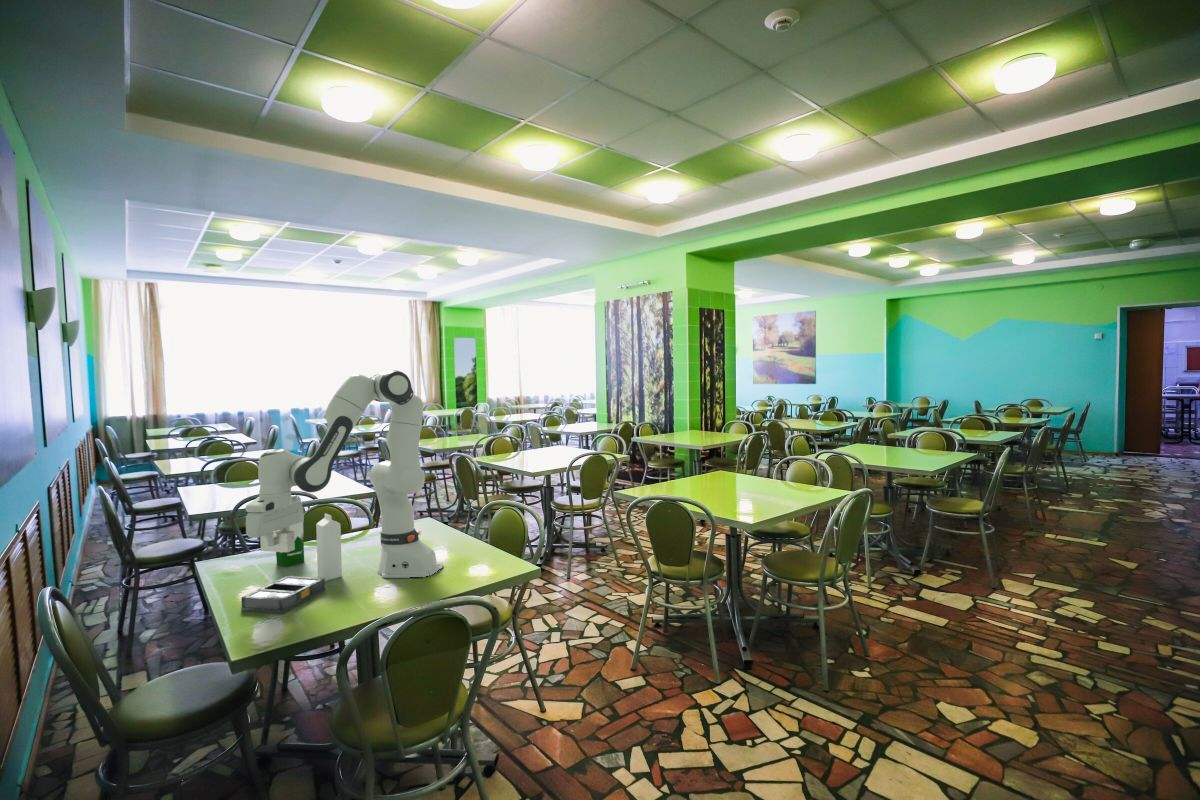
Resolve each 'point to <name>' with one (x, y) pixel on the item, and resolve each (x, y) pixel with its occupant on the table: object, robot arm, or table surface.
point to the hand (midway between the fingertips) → (277, 543)
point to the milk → (329, 548)
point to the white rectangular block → (279, 542)
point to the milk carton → (294, 555)
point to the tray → (283, 594)
